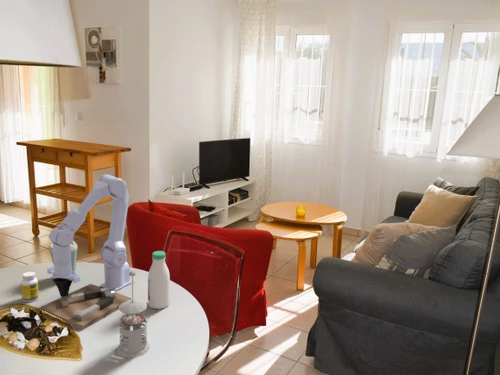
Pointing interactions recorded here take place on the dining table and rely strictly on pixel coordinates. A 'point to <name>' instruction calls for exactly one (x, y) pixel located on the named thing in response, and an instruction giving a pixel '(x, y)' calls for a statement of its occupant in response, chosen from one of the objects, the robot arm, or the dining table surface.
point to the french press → (133, 340)
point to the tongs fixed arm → (93, 309)
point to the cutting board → (83, 308)
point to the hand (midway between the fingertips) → (64, 295)
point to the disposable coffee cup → (73, 254)
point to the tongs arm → (88, 295)
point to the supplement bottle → (29, 287)
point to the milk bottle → (158, 282)
